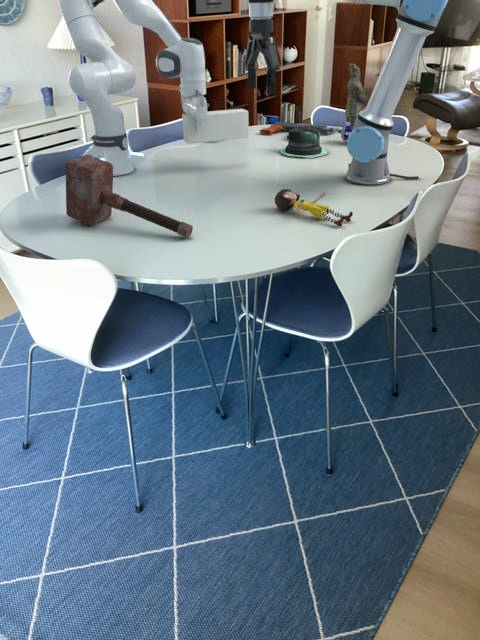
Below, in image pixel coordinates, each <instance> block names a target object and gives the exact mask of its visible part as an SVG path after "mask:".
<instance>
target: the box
mask: <svg viewBox="0 0 480 640" xmlns="http://www.w3.org/2000/svg"><path fill="white" fill-rule="evenodd" d="M249 118H250V117H249V111H248V110H247V109H245V108H234V109H233V108H232V109H223V110H212V111H211V110H210V111H208V118H207V120H205V121H203V122H202V131H200V132H198V131H196V119H195V118H193V116H192V115H190V114H188V113H181V119H182V120H181V121H182V134H183V135H182V137H183V141H184V142H185V143H187V144H188V145H191V144H202V143H210V142H211V143H212V142H221V141H222V142H223V141H231V140H232V141H233V140H240V139H249V135H250V133H249V129H250V128H249V125H250V124H249V123H250V121H249Z"/></svg>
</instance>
